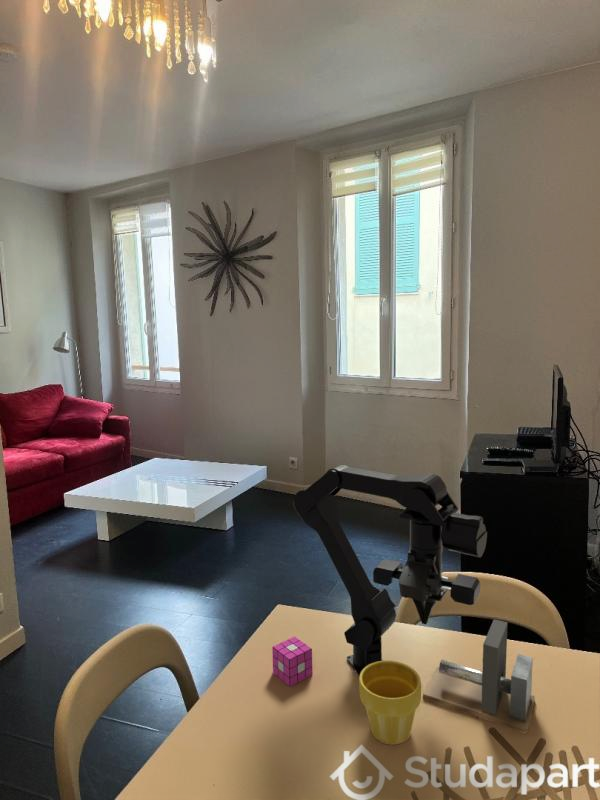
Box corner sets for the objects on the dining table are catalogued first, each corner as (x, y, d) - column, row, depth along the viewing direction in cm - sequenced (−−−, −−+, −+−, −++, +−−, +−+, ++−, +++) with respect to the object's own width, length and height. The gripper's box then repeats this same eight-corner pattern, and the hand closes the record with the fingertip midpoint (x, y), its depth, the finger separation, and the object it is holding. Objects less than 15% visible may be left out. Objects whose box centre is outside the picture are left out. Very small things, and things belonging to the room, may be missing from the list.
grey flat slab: (481, 710, 97) (483, 644, 95) (491, 680, 104) (493, 619, 102) (495, 715, 95) (497, 648, 94) (505, 684, 103) (507, 622, 101)
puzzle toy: (272, 672, 111) (271, 646, 110) (295, 661, 114) (294, 635, 113) (289, 687, 106) (289, 659, 105) (312, 675, 110) (312, 648, 109)
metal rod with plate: (435, 694, 102) (435, 653, 101) (445, 672, 108) (446, 634, 106) (525, 723, 94) (526, 680, 93) (531, 698, 100) (532, 657, 99)
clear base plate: (422, 698, 102) (422, 693, 102) (436, 671, 110) (437, 666, 110) (527, 733, 93) (527, 727, 93) (534, 701, 101) (534, 695, 101)
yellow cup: (348, 719, 97) (348, 668, 96) (399, 703, 101) (399, 653, 100) (378, 762, 88) (378, 706, 86) (433, 742, 91) (434, 688, 90)
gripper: (361, 550, 99) (361, 631, 101) (466, 572, 90) (465, 660, 92) (384, 529, 108) (384, 603, 111) (482, 547, 99) (479, 628, 101)
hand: (424, 623), depth 103 cm, fingers closed
